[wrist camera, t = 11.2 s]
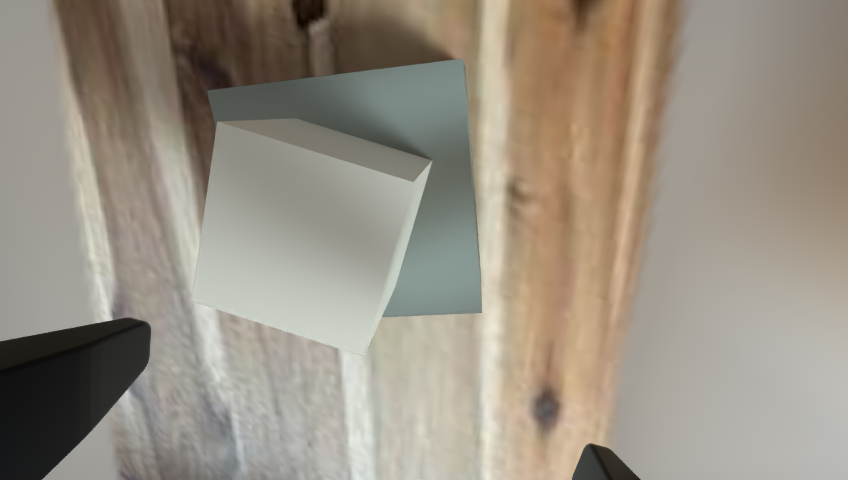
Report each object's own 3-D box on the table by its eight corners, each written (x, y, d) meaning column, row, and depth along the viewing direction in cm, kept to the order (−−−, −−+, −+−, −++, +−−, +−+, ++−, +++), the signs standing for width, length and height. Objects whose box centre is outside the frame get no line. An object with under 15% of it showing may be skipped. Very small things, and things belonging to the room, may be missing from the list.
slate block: (481, 275, 21) (481, 312, 17) (296, 285, 22) (258, 322, 18) (465, 69, 18) (462, 58, 15) (259, 94, 20) (206, 90, 16)
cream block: (432, 160, 16) (413, 182, 11) (395, 287, 17) (363, 356, 12) (295, 118, 16) (217, 121, 11) (270, 248, 17) (191, 301, 12)
